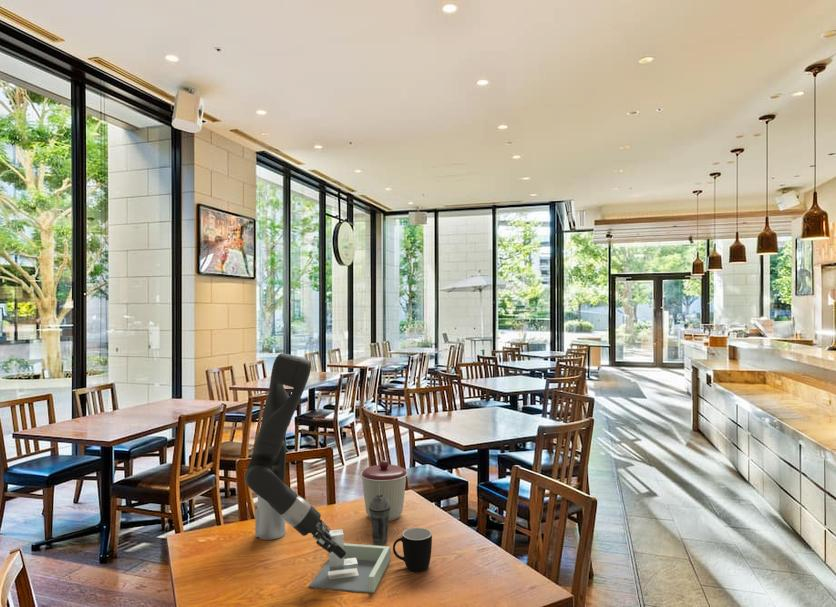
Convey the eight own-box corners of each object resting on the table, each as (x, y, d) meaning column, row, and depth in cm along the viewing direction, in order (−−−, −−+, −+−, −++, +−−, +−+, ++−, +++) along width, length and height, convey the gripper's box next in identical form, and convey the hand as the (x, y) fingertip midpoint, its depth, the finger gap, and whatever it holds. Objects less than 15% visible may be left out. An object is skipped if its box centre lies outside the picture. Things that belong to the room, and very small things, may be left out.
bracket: (330, 571, 151) (329, 536, 151) (329, 564, 155) (328, 530, 155) (357, 567, 153) (357, 533, 153) (356, 561, 157) (355, 527, 157)
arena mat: (308, 587, 147) (308, 585, 147) (331, 556, 166) (331, 555, 166) (374, 593, 143) (374, 591, 143) (390, 561, 162) (390, 559, 162)
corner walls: (308, 587, 147) (308, 571, 147) (331, 556, 166) (331, 542, 166) (374, 593, 143) (374, 576, 144) (390, 561, 162) (390, 546, 162)
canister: (403, 506, 209) (403, 452, 209) (412, 523, 191) (412, 465, 191) (358, 510, 205) (357, 456, 205) (363, 528, 187) (362, 469, 188)
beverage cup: (392, 538, 179) (391, 479, 179) (389, 547, 172) (388, 486, 172) (371, 537, 180) (370, 478, 180) (367, 546, 172) (366, 485, 173)
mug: (434, 561, 162) (433, 528, 162) (430, 575, 153) (429, 540, 153) (395, 558, 164) (395, 526, 164) (390, 572, 155) (389, 538, 155)
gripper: (310, 513, 145) (354, 552, 148) (309, 496, 159) (349, 532, 161) (291, 534, 144) (336, 574, 146) (291, 515, 157) (332, 552, 160)
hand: (342, 552), depth 154 cm, fingers closed on bracket, 4 cm apart
